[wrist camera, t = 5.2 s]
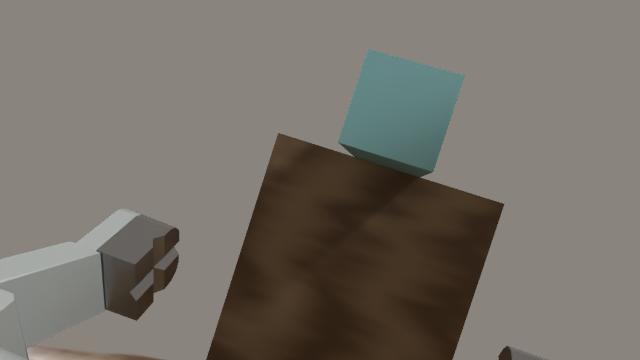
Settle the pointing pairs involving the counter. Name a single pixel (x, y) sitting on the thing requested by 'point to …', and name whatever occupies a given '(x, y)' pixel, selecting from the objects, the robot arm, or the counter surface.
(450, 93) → the teal bar
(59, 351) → the counter surface
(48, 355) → the counter surface
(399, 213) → the walnut stand
